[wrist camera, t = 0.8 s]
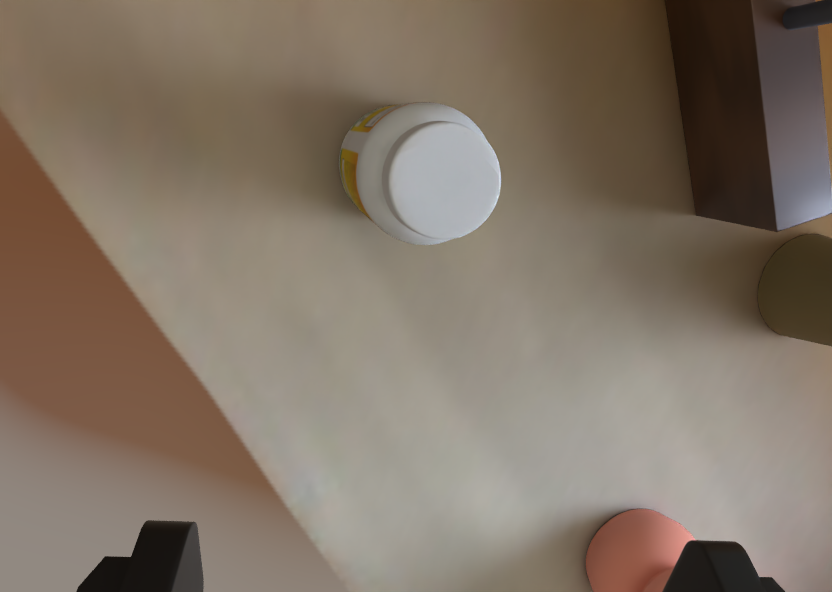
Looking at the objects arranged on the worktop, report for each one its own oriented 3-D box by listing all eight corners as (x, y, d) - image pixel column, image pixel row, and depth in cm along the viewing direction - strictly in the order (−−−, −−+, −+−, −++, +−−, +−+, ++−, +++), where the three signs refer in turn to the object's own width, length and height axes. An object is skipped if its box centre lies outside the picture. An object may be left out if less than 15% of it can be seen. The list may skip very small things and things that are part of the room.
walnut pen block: (654, -68, 33) (829, -153, 23) (710, -83, 33) (906, -172, 23) (696, 215, 37) (860, 249, 27) (745, 199, 37) (925, 226, 27)
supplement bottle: (369, 84, 31) (415, 67, 22) (468, 140, 33) (549, 145, 24) (316, 191, 32) (340, 216, 23) (416, 241, 34) (476, 283, 24)
